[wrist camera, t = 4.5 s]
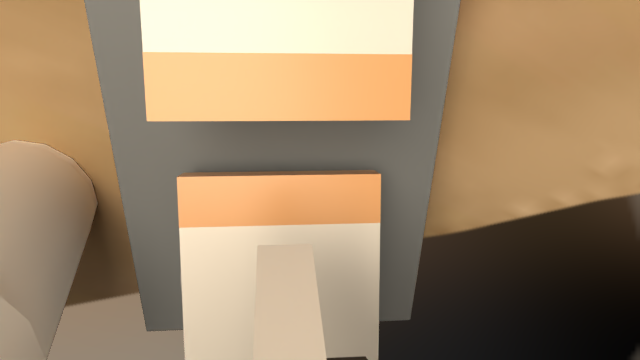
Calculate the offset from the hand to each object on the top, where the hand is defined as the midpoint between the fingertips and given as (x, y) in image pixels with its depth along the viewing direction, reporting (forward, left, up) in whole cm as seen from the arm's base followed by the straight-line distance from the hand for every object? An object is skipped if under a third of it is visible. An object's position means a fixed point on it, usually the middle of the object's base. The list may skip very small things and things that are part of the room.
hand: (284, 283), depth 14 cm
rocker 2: (0, -4, -6) cm, 7 cm away
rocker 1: (0, +8, -6) cm, 10 cm away
